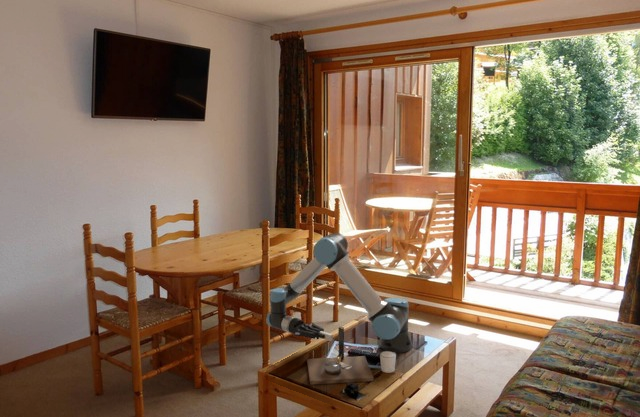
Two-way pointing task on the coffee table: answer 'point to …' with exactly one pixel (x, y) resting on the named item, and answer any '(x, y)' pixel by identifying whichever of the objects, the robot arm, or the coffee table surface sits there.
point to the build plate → (352, 391)
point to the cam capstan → (335, 365)
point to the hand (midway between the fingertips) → (331, 337)
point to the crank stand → (350, 370)
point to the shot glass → (387, 361)
